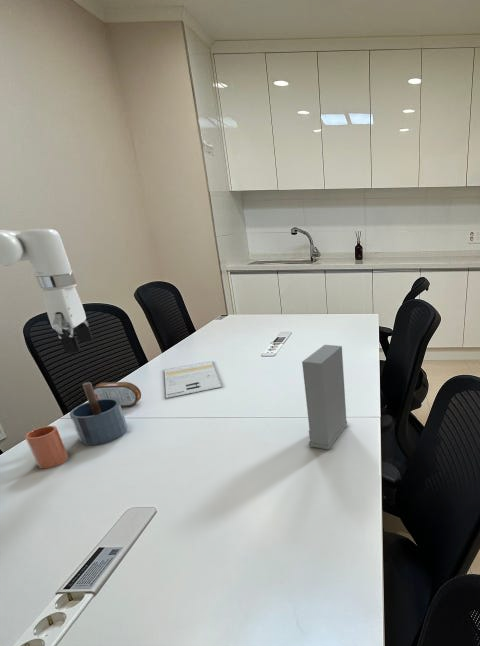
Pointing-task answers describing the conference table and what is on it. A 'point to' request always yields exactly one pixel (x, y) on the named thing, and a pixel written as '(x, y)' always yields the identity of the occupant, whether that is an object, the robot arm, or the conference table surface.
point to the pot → (99, 422)
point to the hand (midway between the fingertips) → (80, 346)
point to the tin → (118, 392)
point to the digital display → (190, 379)
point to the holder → (47, 446)
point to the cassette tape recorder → (325, 395)
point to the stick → (91, 398)
